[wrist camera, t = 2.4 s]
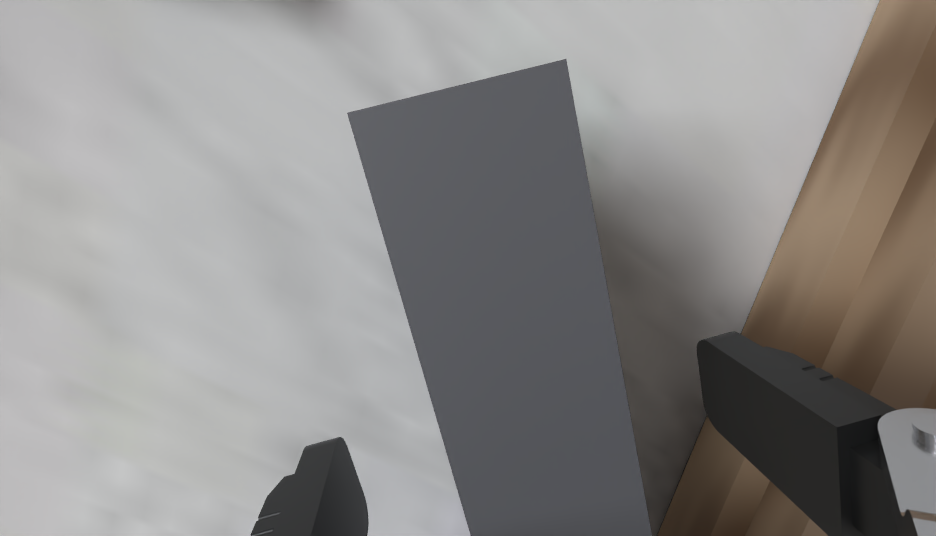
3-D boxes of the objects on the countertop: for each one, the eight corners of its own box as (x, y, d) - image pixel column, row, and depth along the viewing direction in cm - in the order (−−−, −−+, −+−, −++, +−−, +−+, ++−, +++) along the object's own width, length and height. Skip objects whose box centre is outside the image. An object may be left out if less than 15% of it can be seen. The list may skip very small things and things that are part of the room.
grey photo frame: (572, 533, 17) (711, 864, 9) (501, 554, 16) (580, 908, 9) (476, 115, 13) (566, 58, 5) (386, 138, 13) (347, 113, 5)
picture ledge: (825, 662, 19) (914, 772, 16) (616, 632, 18) (664, 746, 14) (1122, 94, 15) (1331, 75, 12) (882, -6, 13) (1039, -61, 10)
